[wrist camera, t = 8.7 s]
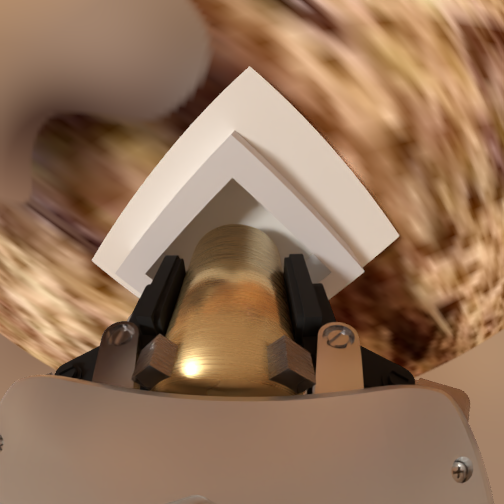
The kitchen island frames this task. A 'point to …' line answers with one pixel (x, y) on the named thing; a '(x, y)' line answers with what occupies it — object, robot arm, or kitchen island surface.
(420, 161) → the kitchen island surface
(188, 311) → the gold rounded cylinder
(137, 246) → the shaft stand
